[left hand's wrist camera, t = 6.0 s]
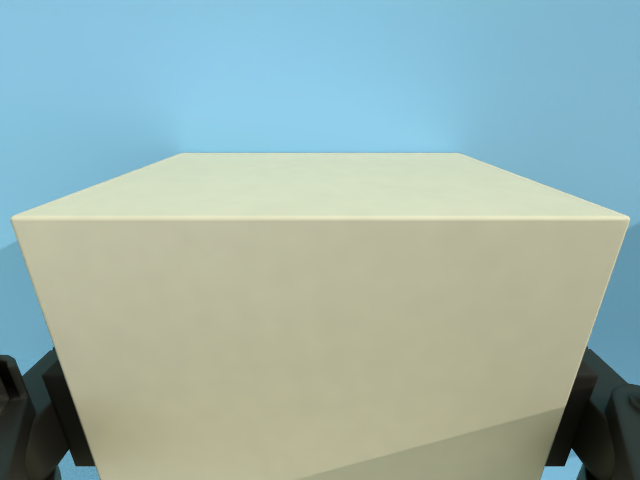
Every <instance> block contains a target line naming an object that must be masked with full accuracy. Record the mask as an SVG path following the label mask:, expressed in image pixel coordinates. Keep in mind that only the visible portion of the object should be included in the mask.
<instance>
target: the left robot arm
mask: <svg viewBox="0 0 640 480" xmlns="http://www.w3.org/2000/svg"><path fill="white" fill-rule="evenodd" d="M571 448H572V449H573V450H574V452H575V453H576V454H577V456H578V457H579V459H580V460H581V461H582V463H583V464H582V467H581V469H580V472H579V474H578V477H577V479H576V480H640V386H638V385H633V384H628V383H627V382H626V381H625V380H624V379H622V378H621V377H620V376H619V375H618V374H617V373H616V372H615V371H614V370H613V369H612V368H610V367H609V366H608V365H607V364H606V363H605V362H604V361H603V360H602V359H601V358H600V357H599V356H597V355H596V354H595V353H594V352H593V351H592V350H591V349H588V346H586V349H585V352H584V355H583V358H582V360H581V363H580V366H579V369H578V372H577V375H576V378H575V381H574V383H573V386H572V389H571V392H570V395H569V398H568V401H567V404H566V406H565V409H564V412H563V415H562V418H561V421H560V424H559V427H558V430H557V432H556V435H555V438H554V441H553V444H552V447H551V450H550V453H549V455H548V458H547V461H546V464H545V466H565V464H566V461H567V458H568V456H569V453H570V450H571ZM68 450H70V452H71V455H72V458H73V460H74V463H75V465H76V466H95V463H94V460H93V457H92V454H91V451H90V448H89V446H88V443H87V440H86V437H85V434H84V431H83V428H82V425H81V423H80V420H79V417H78V414H77V411H76V408H75V405H74V402H73V399H72V397H71V394H70V391H69V388H68V385H67V382H66V379H65V376H64V373H63V371H62V368H61V365H60V362H59V359H58V356H57V353H56V350H55V347H53V350H50V351H49V352H48V353H47V354H46V355H45V356H44V357H43V358H41V359H40V360H39V361H38V362H37V363H36V364H35V365H34V366H33V367H32V368H31V369H30V370H29V371H27V372H26V373H25V374H24V375H23V376H22V375H21V373H20V370H19V368H18V365H17V363H16V361H15V359H14V358H12V357H11V356H9V355H0V480H61V473H60V469H59V467H58V464H59V462H60V461H61V460H62V458H63V457H64V455H65V454H66V453H67V451H68Z"/></svg>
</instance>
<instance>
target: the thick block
mask: <svg viewBox="0 0 640 480" xmlns="http://www.w3.org/2000/svg"><path fill="white" fill-rule="evenodd" d="M629 222H630V218H629V217H628V216H626V215H624V214H621V213H618V212H616V211H613V210H610V209H608V208H605V207H602V206H599V205H597V204H594V203H591V202H589V201H586V200H583V199H581V198H578V197H575V196H573V195H570V194H567V193H565V192H562V191H559V190H557V189H554V188H551V187H549V186H546V185H543V184H541V183H538V182H535V181H533V180H530V179H527V178H525V177H522V176H519V175H516V174H514V173H511V172H508V171H506V170H503V169H500V168H498V167H495V166H492V165H490V164H487V163H484V162H482V161H479V160H476V159H474V158H471V157H468V156H466V155H463V154H460V153H180V154H177V155H175V156H172V157H169V158H167V159H164V160H161V161H159V162H156V163H153V164H151V165H148V166H145V167H143V168H140V169H137V170H135V171H132V172H129V173H126V174H124V175H121V176H118V177H116V178H113V179H110V180H108V181H105V182H102V183H100V184H97V185H94V186H92V187H89V188H86V189H84V190H81V191H78V192H76V193H73V194H70V195H68V196H65V197H62V198H59V199H57V200H54V201H51V202H49V203H46V204H43V205H41V206H38V207H35V208H33V209H30V210H27V211H25V212H22V213H19V214H17V215H14V216H12V217H11V223H12V226H13V229H14V232H15V235H16V238H17V241H18V244H19V247H20V249H21V252H22V255H23V258H24V261H25V264H26V267H27V270H28V272H29V275H30V278H31V281H32V284H33V287H34V290H35V293H36V296H37V298H38V301H39V304H40V307H41V310H42V313H43V316H44V319H45V322H46V324H47V327H48V330H49V333H50V336H51V339H52V342H53V345H54V347H55V350H56V353H57V356H58V359H59V362H60V365H61V368H62V371H63V373H64V376H65V379H66V382H67V385H68V388H69V391H70V394H71V397H72V399H73V402H74V405H75V408H76V411H77V414H78V417H79V420H80V423H81V425H82V428H83V431H84V434H85V437H86V440H87V443H88V446H89V448H90V451H91V454H92V457H93V460H94V463H95V466H96V469H97V472H98V474H99V477H100V480H540V478H541V476H542V473H543V470H544V467H545V464H546V461H547V458H548V455H549V453H550V450H551V447H552V444H553V441H554V438H555V435H556V432H557V430H558V427H559V424H560V421H561V418H562V415H563V412H564V409H565V406H566V404H567V401H568V398H569V395H570V392H571V389H572V386H573V383H574V381H575V378H576V375H577V372H578V369H579V366H580V363H581V360H582V358H583V355H584V352H585V349H586V346H587V343H588V340H589V337H590V334H591V332H592V329H593V326H594V323H595V320H596V317H597V314H598V311H599V309H600V306H601V303H602V300H603V297H604V294H605V291H606V288H607V286H608V283H609V280H610V277H611V274H612V271H613V268H614V265H615V262H616V260H617V257H618V254H619V251H620V248H621V245H622V242H623V239H624V237H625V234H626V231H627V228H628V225H629Z"/></svg>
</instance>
